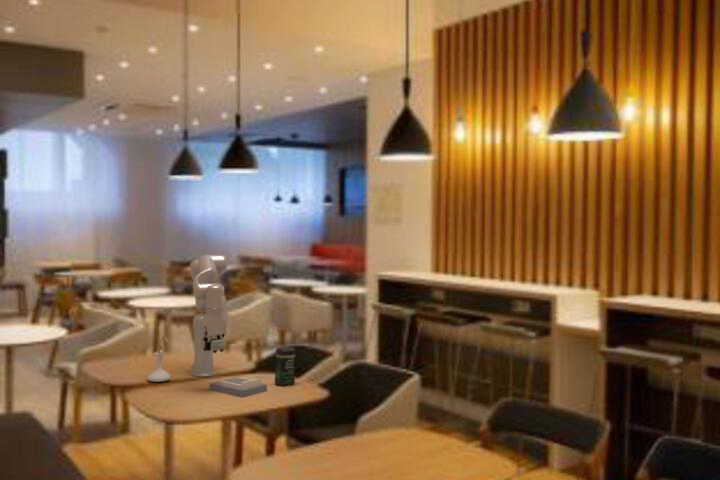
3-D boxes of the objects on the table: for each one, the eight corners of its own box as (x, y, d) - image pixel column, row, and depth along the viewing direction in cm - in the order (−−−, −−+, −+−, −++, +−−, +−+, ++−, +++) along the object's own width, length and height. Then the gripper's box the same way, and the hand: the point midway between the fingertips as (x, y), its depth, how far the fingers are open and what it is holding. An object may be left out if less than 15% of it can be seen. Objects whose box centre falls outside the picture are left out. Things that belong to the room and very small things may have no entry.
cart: (201, 350, 345) (201, 335, 345) (211, 349, 350) (211, 334, 350) (215, 353, 339) (215, 338, 339) (225, 352, 344) (225, 337, 343)
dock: (209, 389, 346) (209, 376, 346) (234, 383, 359) (234, 371, 359) (242, 397, 333) (242, 384, 333) (266, 390, 346) (267, 378, 346)
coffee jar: (280, 387, 354) (281, 349, 354) (272, 383, 361) (273, 346, 360) (297, 384, 361) (298, 347, 360) (288, 381, 367) (289, 344, 366)
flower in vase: (167, 383, 355) (168, 332, 355) (144, 383, 356) (144, 332, 355) (174, 377, 368) (175, 328, 368) (152, 377, 369) (152, 328, 368)
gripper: (222, 309, 353) (222, 346, 353) (194, 312, 339) (193, 350, 340) (233, 310, 348) (232, 348, 349) (204, 313, 335) (204, 353, 335)
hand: (213, 349), depth 344 cm, fingers closed on cart, 6 cm apart
